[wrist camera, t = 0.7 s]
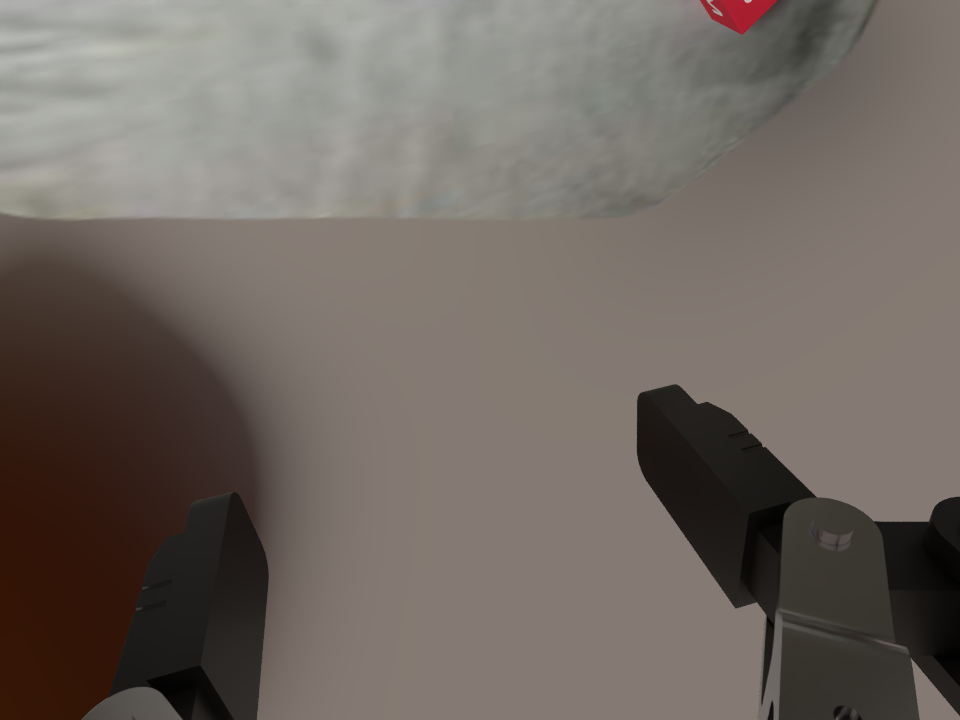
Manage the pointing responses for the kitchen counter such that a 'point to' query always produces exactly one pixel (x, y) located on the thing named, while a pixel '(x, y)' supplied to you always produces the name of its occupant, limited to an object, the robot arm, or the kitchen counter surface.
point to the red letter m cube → (737, 12)
